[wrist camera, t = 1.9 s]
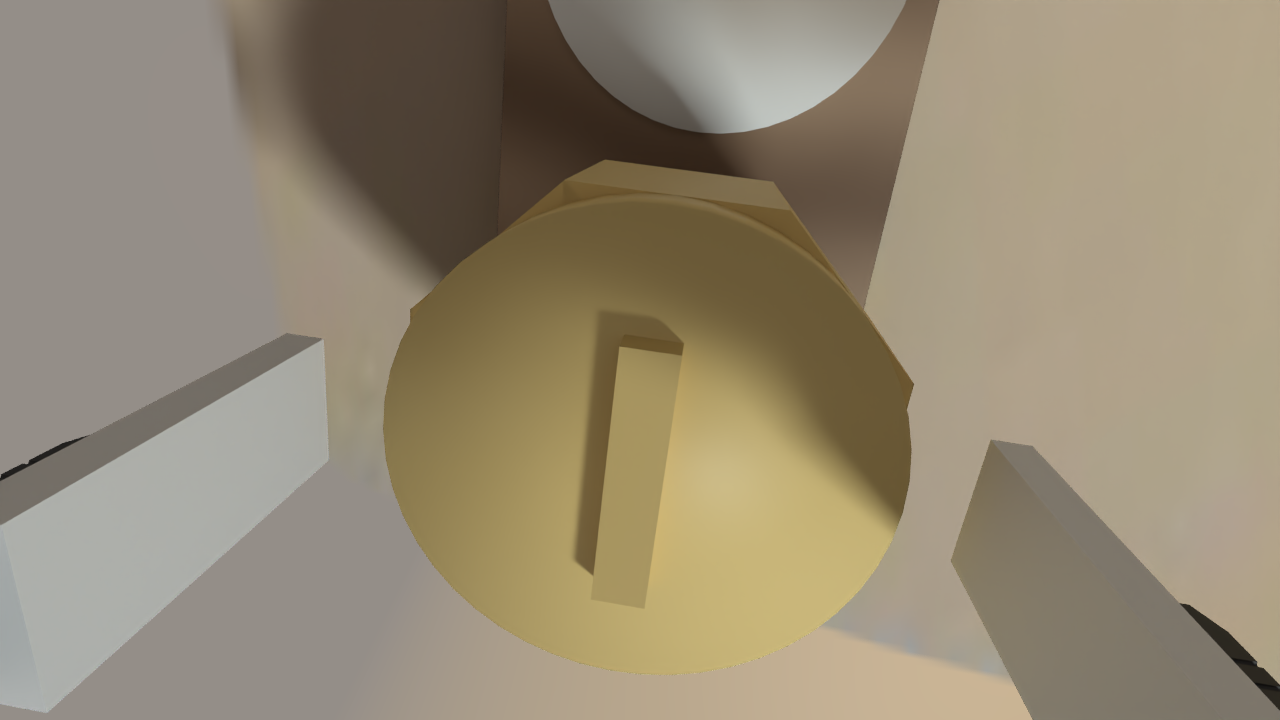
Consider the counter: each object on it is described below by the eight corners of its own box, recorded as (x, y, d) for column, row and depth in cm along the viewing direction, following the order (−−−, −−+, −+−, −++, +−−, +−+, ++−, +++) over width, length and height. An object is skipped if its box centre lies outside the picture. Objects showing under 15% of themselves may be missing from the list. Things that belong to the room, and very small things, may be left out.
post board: (531, -313, 17) (342, -725, 8) (994, -271, 16) (1291, -676, 8) (497, 423, 24) (377, 596, 16) (815, 473, 23) (868, 682, 15)
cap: (488, 143, 16) (358, 168, 10) (895, 197, 16) (998, 255, 10) (476, 489, 20) (373, 652, 14) (809, 543, 19) (847, 738, 13)
